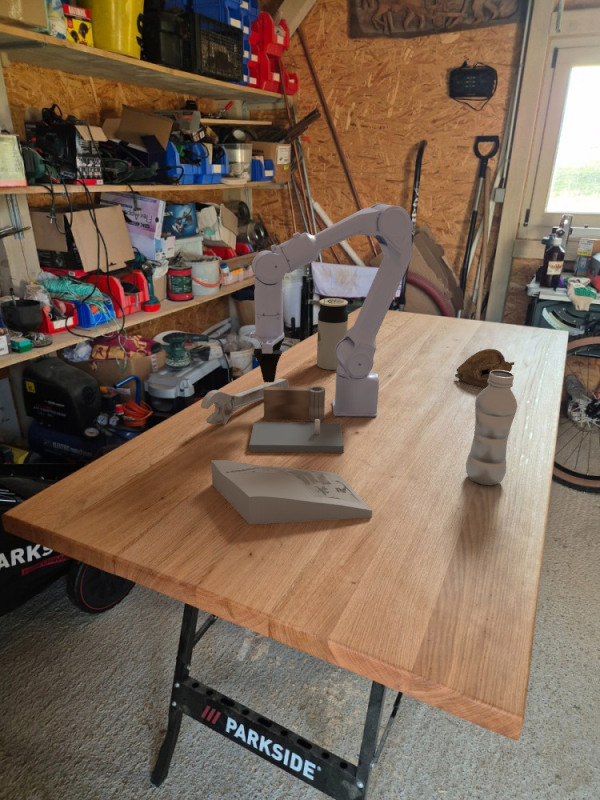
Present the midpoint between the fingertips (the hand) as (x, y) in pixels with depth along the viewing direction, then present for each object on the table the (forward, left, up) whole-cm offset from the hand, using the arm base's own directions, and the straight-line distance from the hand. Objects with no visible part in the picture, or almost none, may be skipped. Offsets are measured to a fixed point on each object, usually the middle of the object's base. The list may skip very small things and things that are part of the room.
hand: (270, 375), depth 113 cm
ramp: (-5, +33, -10) cm, 34 cm away
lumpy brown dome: (-56, -28, -10) cm, 64 cm away
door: (-5, +2, -9) cm, 11 cm away
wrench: (+5, -4, -10) cm, 12 cm away
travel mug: (-15, -32, -10) cm, 37 cm away
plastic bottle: (-39, +26, -10) cm, 47 cm away
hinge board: (-6, +12, -9) cm, 16 cm away
